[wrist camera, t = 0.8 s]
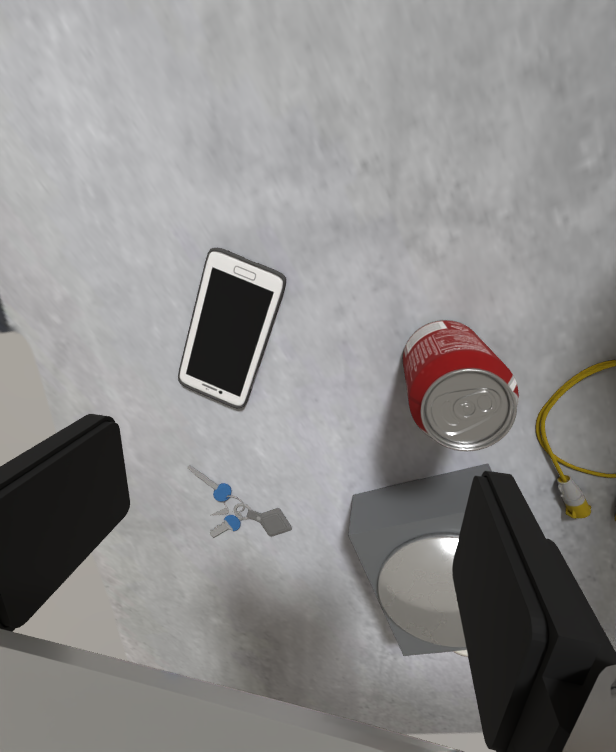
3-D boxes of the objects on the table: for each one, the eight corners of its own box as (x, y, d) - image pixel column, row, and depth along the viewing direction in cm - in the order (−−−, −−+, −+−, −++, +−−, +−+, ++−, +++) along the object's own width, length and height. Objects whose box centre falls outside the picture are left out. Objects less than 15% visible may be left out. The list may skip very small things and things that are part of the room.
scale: (488, 463, 37) (508, 506, 31) (529, 592, 41) (554, 651, 35) (353, 494, 41) (347, 538, 35) (403, 608, 45) (406, 664, 39)
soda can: (391, 336, 34) (394, 383, 23) (466, 306, 32) (509, 341, 21) (417, 400, 36) (432, 472, 25) (491, 375, 34) (542, 441, 23)
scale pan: (504, 519, 32) (507, 525, 31) (541, 631, 35) (544, 639, 34) (359, 546, 36) (358, 553, 35) (403, 645, 39) (404, 653, 38)
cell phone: (290, 275, 35) (287, 276, 34) (245, 408, 40) (242, 412, 39) (213, 244, 35) (208, 244, 34) (179, 380, 41) (175, 383, 40)
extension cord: (494, 484, 38) (500, 497, 36) (577, 339, 32) (588, 346, 30) (617, 526, 37) (630, 541, 35) (726, 384, 31) (747, 393, 29)
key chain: (298, 515, 44) (297, 520, 43) (272, 561, 47) (271, 567, 46) (190, 462, 44) (187, 466, 43) (172, 511, 47) (168, 516, 46)
